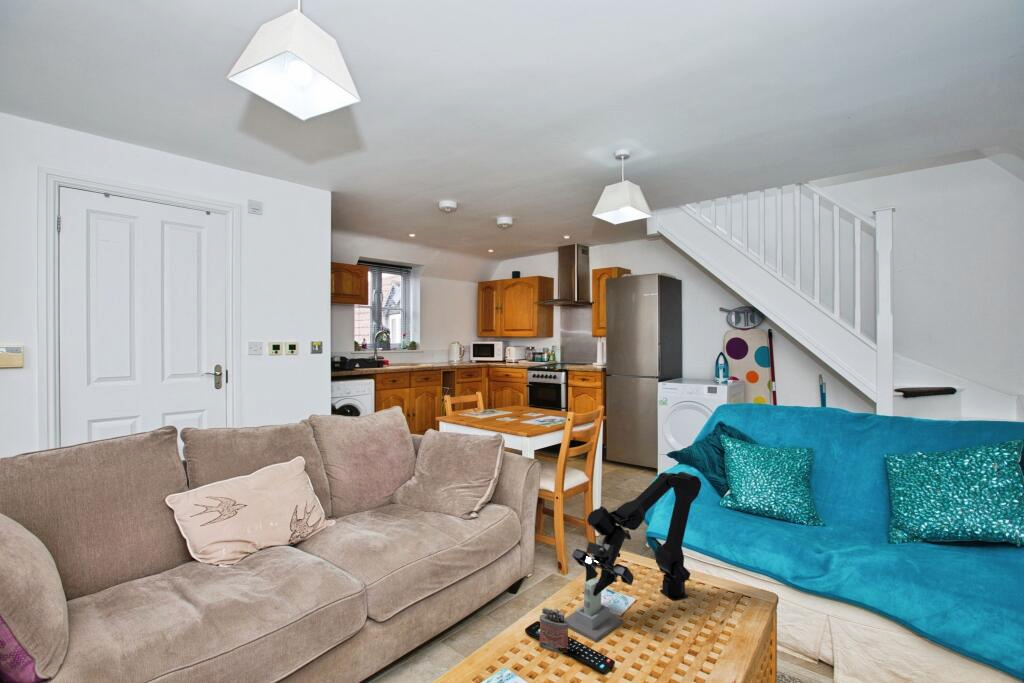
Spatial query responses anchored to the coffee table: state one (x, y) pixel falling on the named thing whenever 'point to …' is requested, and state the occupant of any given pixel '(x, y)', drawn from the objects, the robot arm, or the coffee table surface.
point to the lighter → (553, 630)
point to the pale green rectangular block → (591, 598)
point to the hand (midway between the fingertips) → (590, 593)
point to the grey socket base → (593, 623)
